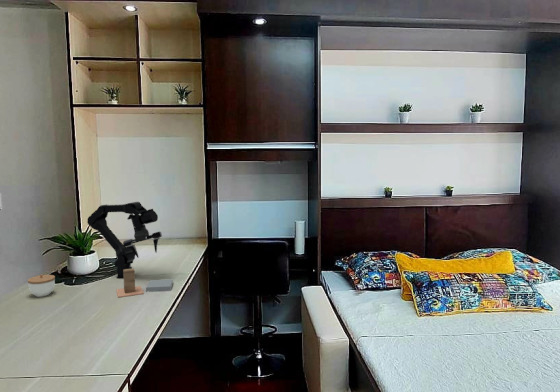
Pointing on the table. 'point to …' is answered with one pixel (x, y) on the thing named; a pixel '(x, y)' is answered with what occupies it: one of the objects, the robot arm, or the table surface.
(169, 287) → the grey ledge
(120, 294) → the terracotta mat
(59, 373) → the table surface
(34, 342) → the table surface
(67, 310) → the table surface
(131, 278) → the walnut block
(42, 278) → the lidded jar
